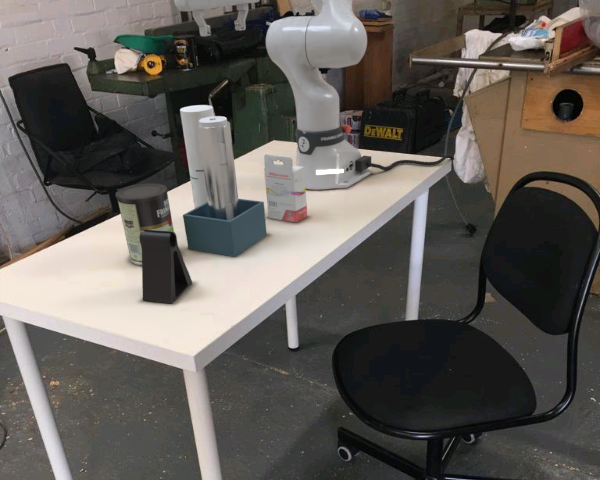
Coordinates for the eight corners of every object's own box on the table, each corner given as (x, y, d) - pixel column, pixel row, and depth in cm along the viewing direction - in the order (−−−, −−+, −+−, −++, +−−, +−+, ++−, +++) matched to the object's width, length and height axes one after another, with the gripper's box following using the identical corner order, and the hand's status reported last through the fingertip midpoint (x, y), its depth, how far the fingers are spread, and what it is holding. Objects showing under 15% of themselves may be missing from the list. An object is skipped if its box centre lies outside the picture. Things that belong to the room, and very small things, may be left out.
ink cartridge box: (308, 216, 152) (305, 152, 144) (296, 223, 149) (292, 158, 141) (279, 211, 157) (275, 148, 148) (267, 217, 154) (261, 154, 145)
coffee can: (184, 247, 141) (173, 182, 133) (169, 266, 133) (156, 198, 125) (140, 246, 143) (126, 182, 135) (122, 265, 134) (107, 198, 126)
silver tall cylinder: (211, 245, 140) (194, 123, 125) (216, 234, 145) (199, 115, 130) (240, 244, 139) (226, 121, 125) (244, 233, 144) (231, 114, 130)
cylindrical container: (221, 225, 151) (206, 111, 136) (192, 225, 152) (175, 112, 138) (230, 215, 156) (216, 104, 142) (202, 214, 158) (186, 105, 143)
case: (222, 228, 149) (217, 195, 145) (266, 235, 144) (263, 201, 140) (188, 249, 140) (182, 214, 136) (234, 256, 135) (230, 221, 131)
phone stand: (165, 281, 127) (154, 221, 120) (192, 283, 125) (182, 223, 118) (142, 301, 120) (129, 239, 113) (171, 304, 118) (159, 242, 111)
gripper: (243, -52, 131) (250, 26, 139) (162, -46, 119) (174, 38, 127) (264, -53, 127) (270, 27, 135) (183, -48, 116) (194, 39, 124)
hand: (223, 32), depth 131 cm, fingers open, 8 cm apart
